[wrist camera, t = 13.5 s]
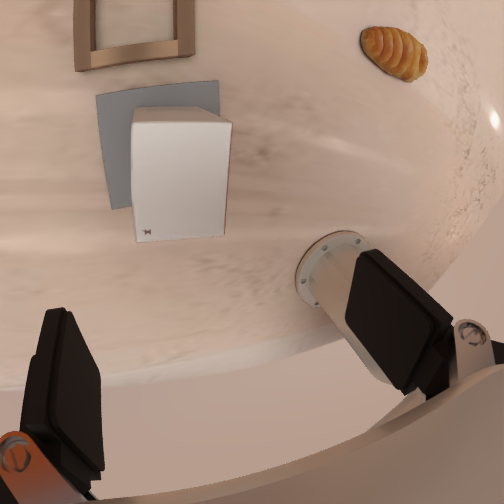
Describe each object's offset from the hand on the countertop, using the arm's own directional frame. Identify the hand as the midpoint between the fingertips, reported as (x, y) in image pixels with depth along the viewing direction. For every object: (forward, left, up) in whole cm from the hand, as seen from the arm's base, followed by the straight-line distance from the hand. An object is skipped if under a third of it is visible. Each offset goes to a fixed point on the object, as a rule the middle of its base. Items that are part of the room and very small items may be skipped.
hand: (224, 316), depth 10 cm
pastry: (-28, -11, -26) cm, 40 cm away
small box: (0, 0, -25) cm, 25 cm away
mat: (0, 0, -26) cm, 26 cm away
